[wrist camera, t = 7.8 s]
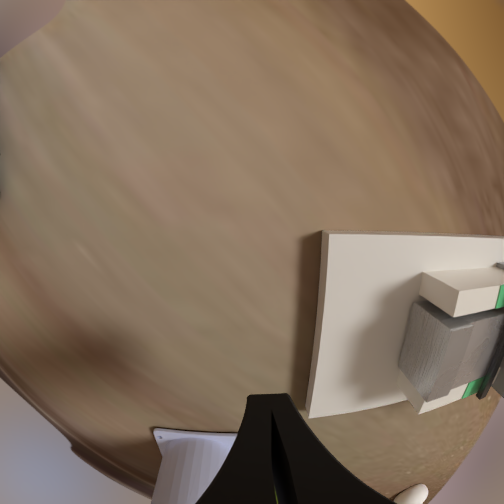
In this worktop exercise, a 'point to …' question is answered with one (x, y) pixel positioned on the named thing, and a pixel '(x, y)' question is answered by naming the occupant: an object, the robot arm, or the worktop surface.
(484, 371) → the grey block with bar
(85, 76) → the worktop surface
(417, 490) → the garlic bulb
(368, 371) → the architectural block model
